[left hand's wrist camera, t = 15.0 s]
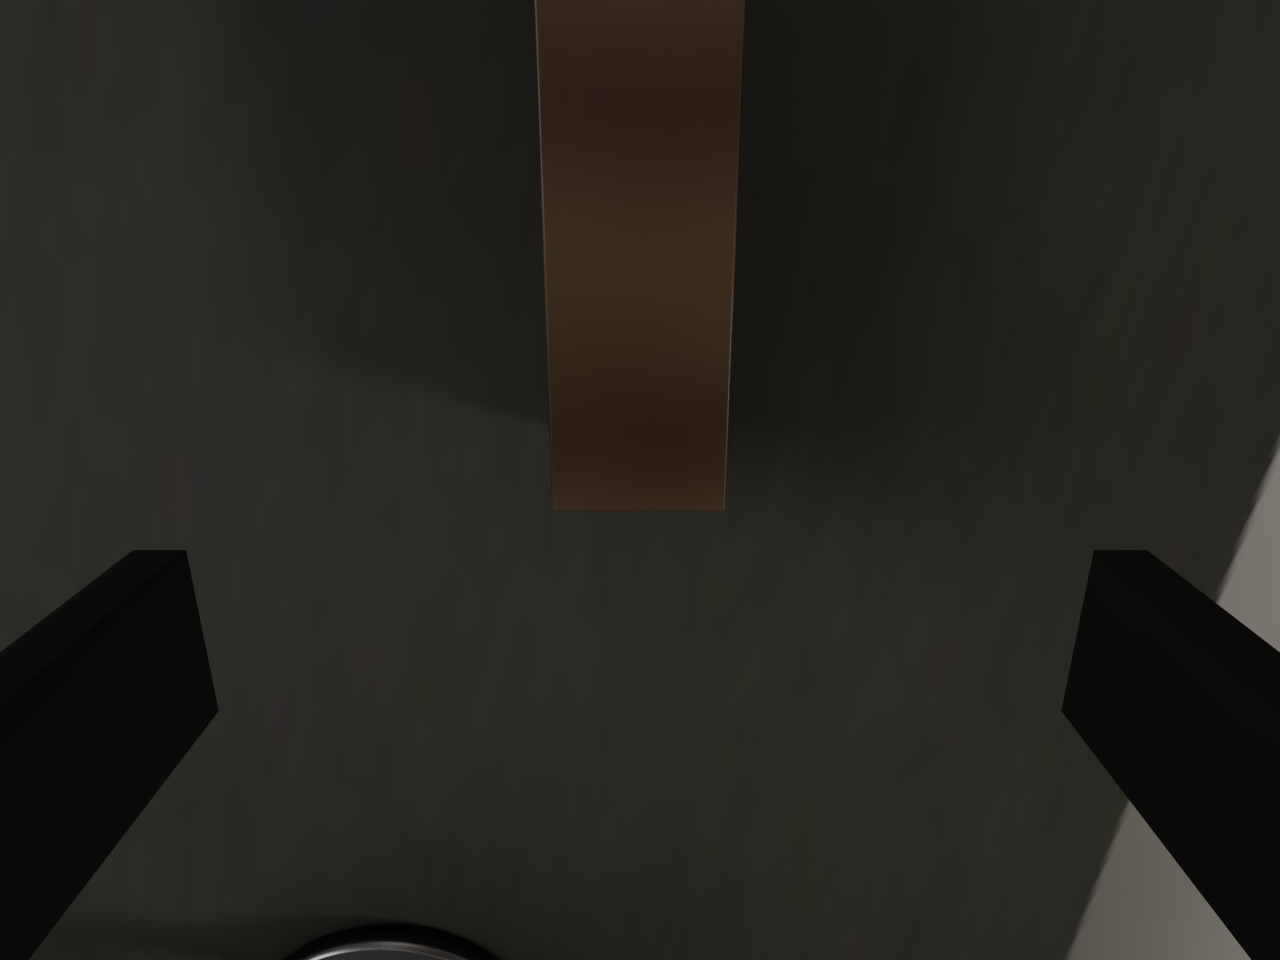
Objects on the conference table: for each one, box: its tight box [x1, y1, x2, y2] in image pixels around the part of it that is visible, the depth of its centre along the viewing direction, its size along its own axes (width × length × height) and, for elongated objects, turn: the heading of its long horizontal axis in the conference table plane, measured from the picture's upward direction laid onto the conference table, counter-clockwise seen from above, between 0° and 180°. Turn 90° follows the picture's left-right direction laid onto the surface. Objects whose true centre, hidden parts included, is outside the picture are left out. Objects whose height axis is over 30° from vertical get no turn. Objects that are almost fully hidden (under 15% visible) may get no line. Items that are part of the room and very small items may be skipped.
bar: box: [534, 0, 746, 511], centre depth 26 cm, size 24×5×8 cm, turn 0°
